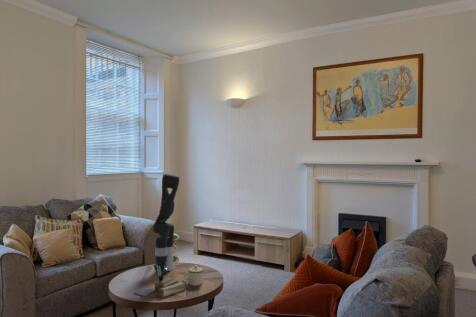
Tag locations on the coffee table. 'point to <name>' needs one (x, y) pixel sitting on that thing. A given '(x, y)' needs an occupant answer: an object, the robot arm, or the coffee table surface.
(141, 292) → the slate coaster
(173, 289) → the cream long bar
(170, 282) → the tan rectangular block
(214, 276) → the coffee table surface
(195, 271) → the teacup with lid
